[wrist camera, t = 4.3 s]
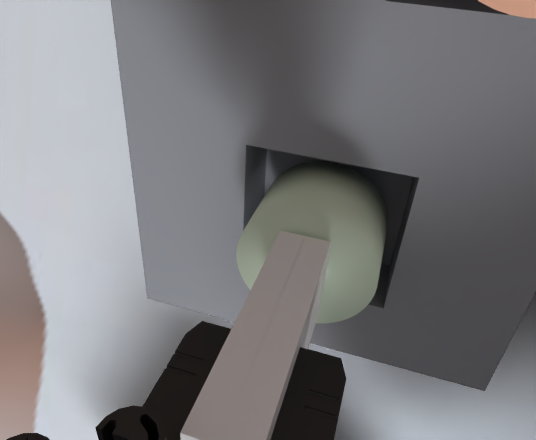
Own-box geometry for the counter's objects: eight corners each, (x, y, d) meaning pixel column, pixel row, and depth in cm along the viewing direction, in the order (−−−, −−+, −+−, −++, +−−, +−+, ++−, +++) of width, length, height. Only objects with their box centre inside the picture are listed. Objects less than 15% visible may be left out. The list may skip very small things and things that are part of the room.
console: (842, -487, 8) (1034, -675, 6) (479, 324, 20) (484, 391, 18) (141, -428, 11) (45, -534, 9) (182, 251, 23) (147, 298, 21)
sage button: (400, 175, 15) (392, 226, 13) (375, 279, 18) (364, 338, 15) (268, 149, 16) (237, 193, 14) (262, 252, 18) (235, 303, 16)
